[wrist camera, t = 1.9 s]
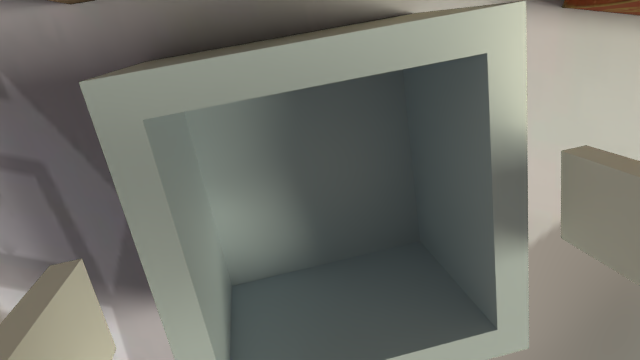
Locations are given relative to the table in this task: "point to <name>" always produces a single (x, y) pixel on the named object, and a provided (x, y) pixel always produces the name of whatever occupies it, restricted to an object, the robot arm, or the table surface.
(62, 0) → the crate
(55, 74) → the table surface
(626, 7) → the carton
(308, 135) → the small crate
